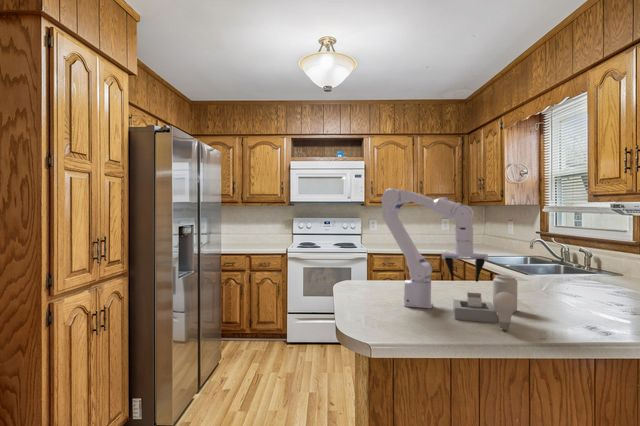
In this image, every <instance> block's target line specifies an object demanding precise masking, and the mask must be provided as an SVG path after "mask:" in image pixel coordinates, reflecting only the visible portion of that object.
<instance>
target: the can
mask: <svg viewBox="0 0 640 426" xmlns="http://www.w3.org/2000/svg"><path fill="white" fill-rule="evenodd" d="M494 276H495V277H494V278H493V281H492V300H493V299H494V297H495V295H496V294H498V293H500V292H508V293H510V294H512V295H513V296H514V297H515V299H516V301H517V302H518V281H517V279H516V276H514V275H510V274H509V275H508V274H495V275H494ZM492 304H493V303H492ZM493 306H494V304H493ZM494 308H495V307H494ZM517 310H518V306H517V307H516V309H515V311H514V312H513V313H515V312H516V311H517Z"/></svg>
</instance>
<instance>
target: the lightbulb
mask: <svg viewBox="0 0 640 426" xmlns="http://www.w3.org/2000/svg"><path fill="white" fill-rule="evenodd" d="M492 304H494V307H495V309H496V311H497V319H498V321H499V328H500V329H501V330H502V331H504V330H505V332H506V331H507V330H510V325H511V321H512V317H513V313H515V312H516V311H515V309H516V307H517V308H518V300H517V301H516V299H515V297H514V296H513V295H512V294H510V293H508V292H500V293H498V294H496V295H495V297H494V299H493V298H492ZM514 311H515V312H514Z"/></svg>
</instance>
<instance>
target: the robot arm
mask: <svg viewBox="0 0 640 426" xmlns="http://www.w3.org/2000/svg"><path fill="white" fill-rule="evenodd" d="M380 201H381V205H382V206H381V209H382V211H381V214H382V219H383V220H384V222H385V224H386V226H387V227H388V229H389V231H390V233H391V235H392V236H393V238H394V240H395V242H396V244H397V245H398V247H399V249H400V250H401V253H402V254H403V256H404V257H405V260H406V266H407V268H408V273H409V274H408V275H409V277H410V279H405V280H404V290H403V291H404V295H403V301H404V302H403V306H404V307H411V308H412V307H413V308H421V309H422V308H423V309H432V308H433V302H432V279H431V277H430V276H432V273H433V266H432V264H431V263H430V262H429V261H427V260H426V258H425V257H424V256H423V254H421V253H420V252H419V250H418V249H417V246H416V245H415V244H414V242H413V240H412V238H411V237H410V236H411V235H409V233H408V232H407V230H406V228H405V226H404V224H403V222H402V221H401V219H400V217H399V212H400V210H401V208H402V207H403V205H404V204H405V203H406V204H409V203H413V204H418V205H422V206H425V207H427V208H431V209H432V212H433V213H434V214H437V215H439V216H442V217H446V218H449V219H454V220H455V227H454V239H455V240H454V241H455V243H454V244H455V245H454V248H455V250H454V251H455V252H441V259H442V260H444V261H445V263H446V266H447V268H448V270H449V273H450V280H451V281H452V282H453V281H454V279H455V277H454V260H472V261H473V260H475V261H474V265H475V275H474V276H475V277H474V280H475V283H478V282H479V279H480V274H481V272H482V269H483V267H484V265H485V261H488V260H489V256H488V254H487V253H476V252H475V253H474V224H473V218H474V215H475V213H474V210H473V208H471V207H470V206H468V205H466V204H465V205H464V204H463V205H462V203H461V202H459V201H457V202H455V201H452V200H449V199H448V197H445V196H444V197H438V198H437V199H433V198H431V197H428V196H426V195H423V194H420V193H418V192H414V191H411V190H406V189H405V190H404V189H400V188H399V189H398V188H397V189H396V188H393V187H389V188H386V189H385V191H384V192H383V193H382V196H381V199H380Z"/></svg>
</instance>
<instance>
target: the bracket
mask: <svg viewBox="0 0 640 426" xmlns="http://www.w3.org/2000/svg"><path fill="white" fill-rule="evenodd" d="M466 300H467V308H479V309H482V302H483V298H482V293H480V292H468V291H467V293H466Z"/></svg>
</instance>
